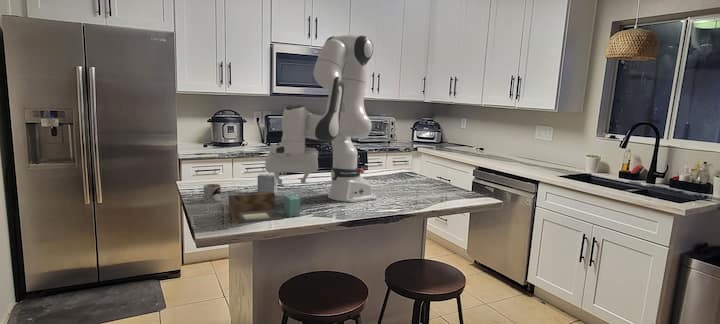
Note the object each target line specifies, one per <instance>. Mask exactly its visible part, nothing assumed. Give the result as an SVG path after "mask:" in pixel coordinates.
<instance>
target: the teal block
mask: <svg viewBox="0 0 720 324" xmlns="http://www.w3.org/2000/svg"><path fill="white" fill-rule="evenodd" d="M283 208H284V210H283V212H284V213H285V214H286V216H288V217H289V218H293V217H292V216H297V217H301V215H300V213H301V198H300V197H299V196H297V195H296V194H284V207H283Z"/></svg>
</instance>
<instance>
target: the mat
mask: <svg viewBox="0 0 720 324" xmlns="http://www.w3.org/2000/svg"><path fill="white" fill-rule="evenodd" d="M278 220H284V217H283V216H282V215H281V214H280V213H279V212H278V211H277V210H276V209H271V210H260V211H248V212H240V223H239V224H246V223H256V222H257V223H258V222H265V221H267V222H269V221H278Z"/></svg>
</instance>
